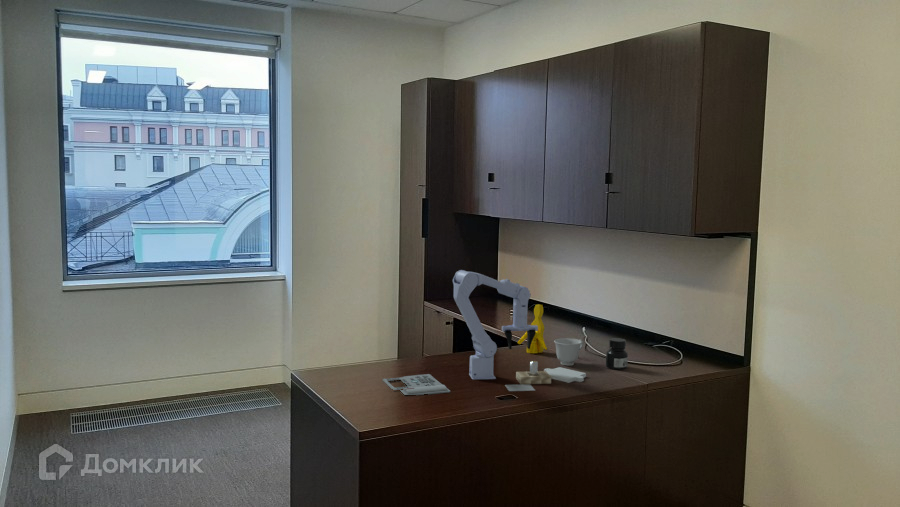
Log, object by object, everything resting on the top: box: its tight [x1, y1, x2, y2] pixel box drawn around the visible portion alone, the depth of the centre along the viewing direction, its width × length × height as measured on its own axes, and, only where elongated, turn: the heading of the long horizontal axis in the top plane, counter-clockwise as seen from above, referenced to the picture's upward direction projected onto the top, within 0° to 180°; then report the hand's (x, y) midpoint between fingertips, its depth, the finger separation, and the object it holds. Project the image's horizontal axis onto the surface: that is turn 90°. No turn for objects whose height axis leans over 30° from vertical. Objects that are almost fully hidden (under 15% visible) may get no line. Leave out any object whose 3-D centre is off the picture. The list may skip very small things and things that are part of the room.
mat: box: [504, 384, 536, 392], centre depth 267 cm, size 10×8×1 cm
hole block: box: [515, 370, 552, 385], centre depth 276 cm, size 12×8×3 cm, turn 98°
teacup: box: [553, 337, 584, 366], centre depth 305 cm, size 12×15×10 cm
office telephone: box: [382, 373, 451, 396], centre depth 268 cm, size 23×3×20 cm
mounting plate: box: [543, 366, 587, 384], centre depth 284 cm, size 18×13×2 cm
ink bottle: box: [605, 337, 629, 371], centre depth 299 cm, size 10×9×12 cm
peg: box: [529, 360, 539, 376], centre depth 276 cm, size 3×3×8 cm
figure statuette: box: [517, 304, 548, 354], centre depth 323 cm, size 18×8×22 cm, turn 42°
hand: (519, 348), depth 287 cm, fingers open, 7 cm apart
